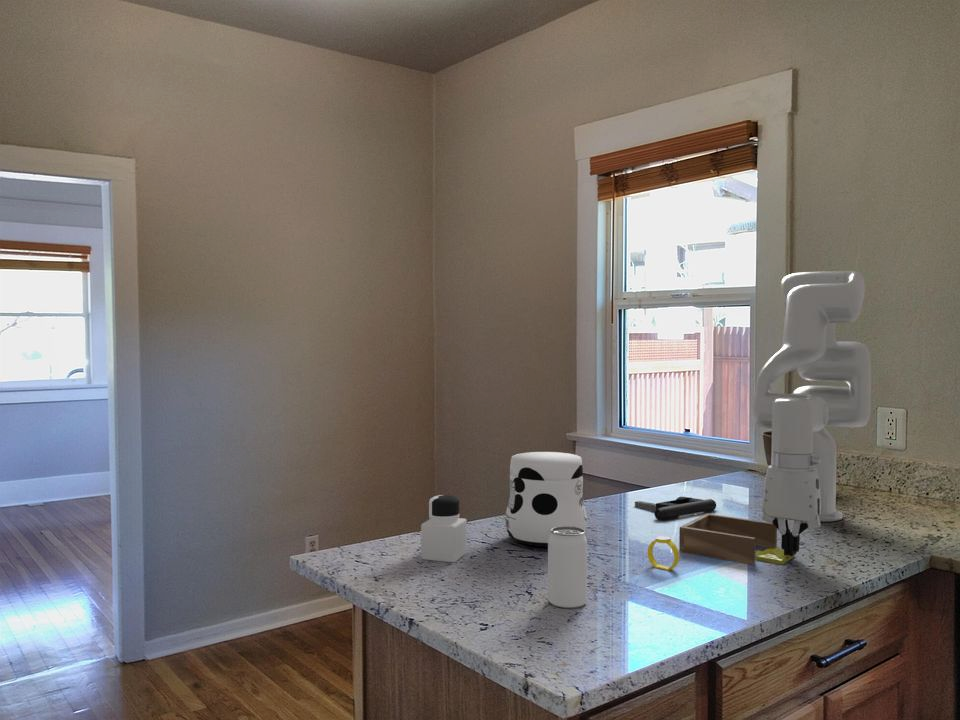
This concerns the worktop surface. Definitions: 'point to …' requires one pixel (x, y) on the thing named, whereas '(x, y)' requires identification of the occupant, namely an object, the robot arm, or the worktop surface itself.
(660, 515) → the door handle
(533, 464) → the milk container
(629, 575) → the worktop surface
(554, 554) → the can
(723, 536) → the box
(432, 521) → the medicine bottle
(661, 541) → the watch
